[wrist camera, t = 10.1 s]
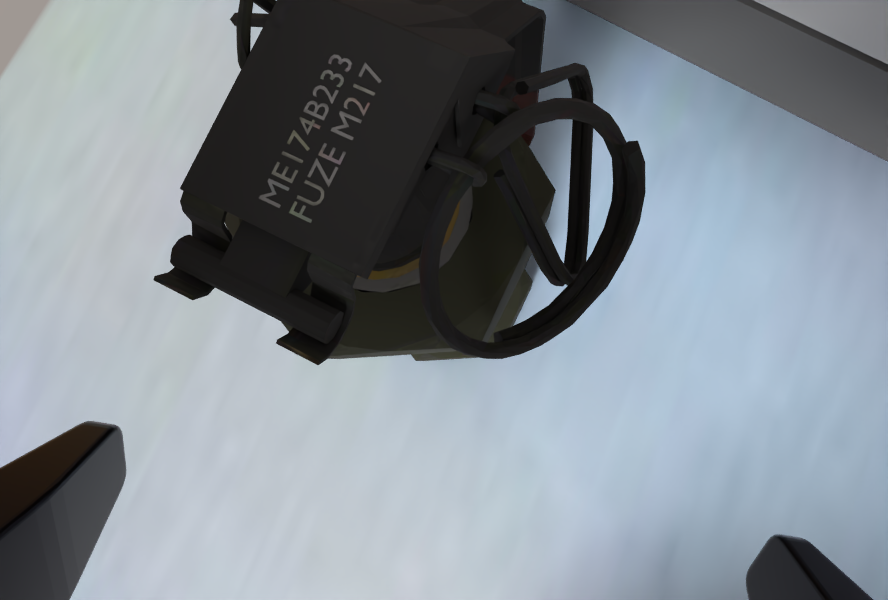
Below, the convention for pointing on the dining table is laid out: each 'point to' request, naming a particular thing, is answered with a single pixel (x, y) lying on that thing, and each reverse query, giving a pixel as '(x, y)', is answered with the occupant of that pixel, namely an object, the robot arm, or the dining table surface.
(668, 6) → the alarm clock
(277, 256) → the grenade
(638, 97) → the dining table surface
